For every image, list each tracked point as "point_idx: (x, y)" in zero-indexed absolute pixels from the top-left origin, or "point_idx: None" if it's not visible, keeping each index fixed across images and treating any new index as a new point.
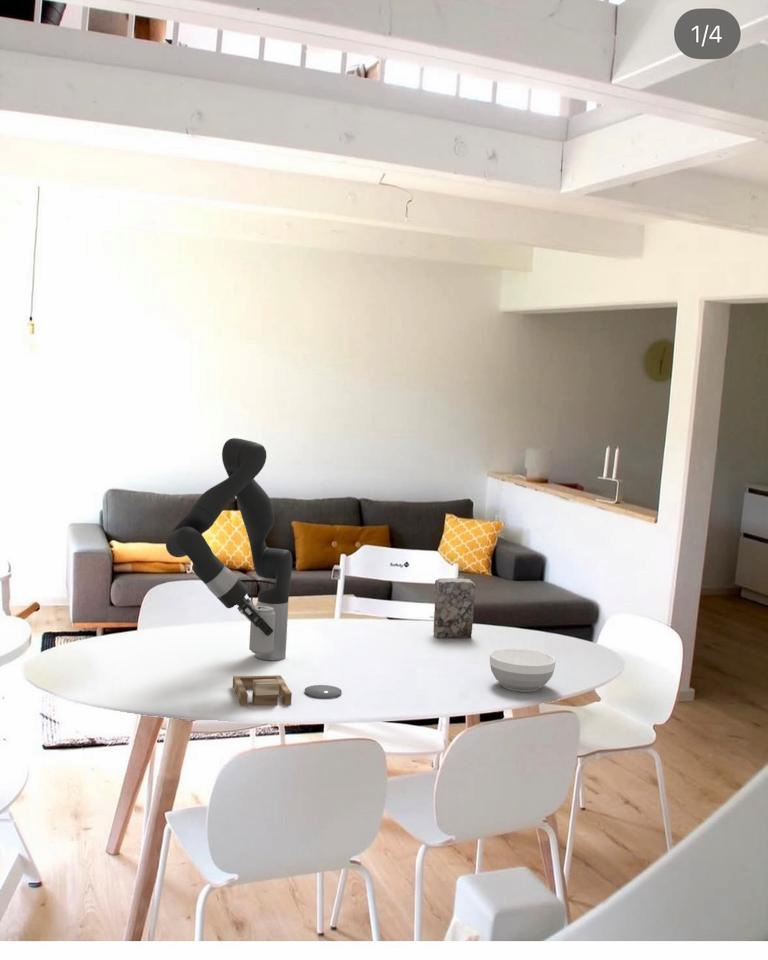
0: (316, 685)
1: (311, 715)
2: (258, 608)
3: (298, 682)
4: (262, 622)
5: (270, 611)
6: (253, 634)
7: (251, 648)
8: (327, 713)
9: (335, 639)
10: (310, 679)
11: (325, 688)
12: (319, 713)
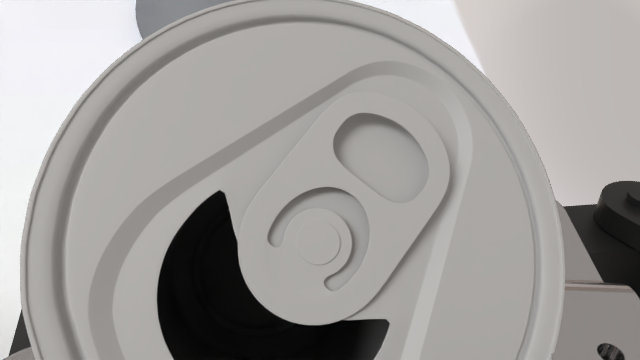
0: (147, 36)
1: (476, 55)
2: None
3: (64, 117)
4: (576, 211)
5: (446, 71)
6: (374, 333)
7: (330, 330)
8: (443, 8)
9: None
10: (3, 69)
11: (185, 3)
12: (450, 31)
